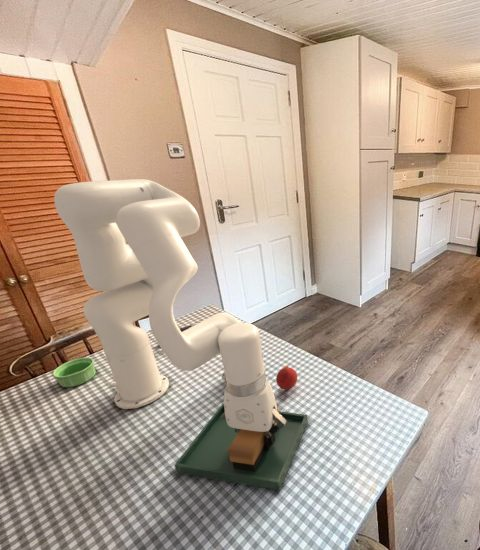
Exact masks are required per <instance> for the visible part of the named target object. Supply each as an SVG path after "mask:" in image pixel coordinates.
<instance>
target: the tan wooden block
mask: <svg viewBox="0 0 480 550" xmlns="http://www.w3.org/2000/svg"><path fill="white" fill-rule="evenodd" d="M276 405H277V412H278V413H279V411H280V409H279V404H276ZM273 421H274V420H273ZM274 423H275V421H274ZM264 437H265V434H264V432H258V431H250V430H243V429H240V431H239V433H238V434H237V436H236V437H235V439H234V440H233V442H232V444H231V445H230V447H229V448H228V453H229V458H230V461H231V462H233V466H234V468H235V469H241V470H247V471H254V472H255V470H256V468H257V466H258V464H259V462H260V460H261V459H262V457H263V455H264V453H265V451H266V449H265V442H264Z"/></svg>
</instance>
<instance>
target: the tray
mask: <svg viewBox="0 0 480 550" xmlns="http://www.w3.org/2000/svg"><path fill="white" fill-rule="evenodd" d="M224 412H225V409H224V403H222V404H221V405H220V406H219V407H218V408H217V410H216V411H215V413H214V414H213V415H212V416H211V418H210V419H209V420H208V421H207V423H206V424H205V426H204V427H203V428H202V430H200V432H199V433H198V434H197V436H195V438H194V440H193V441H192V442H191V443H190V445H189V446H188V447H187V448H186V450H185V451H184V452H183V454H182V455H181V456H180V457H179V459H178V460H177V462H176V463H175V464H174V469H175V472H176V474H180V475H185V476H191V477H197V478H203V479H208V480H209V479H210V480H215V481H221V482H225V483H226V482H227V483H232V484H233V483H234V484H238V485H244V486H250V487H257V488H263V489H267V490H268V489H269V490H272V491H273V490H274V491H281V489H282V486H283V484H284V481H285V479H286V477H287V474H288V472H289V469H290V467H291V464H292V462H293V460H294V457H295V455H296V452H297V449H298V447H299V444H300V442H301V440H302V437H303V435H304V432H305V430H306V428H307V426H308V425H307V424H308V423H309V420H308V414H305V413H304V414H303V413H302V414H301V413H296V412H288V411H280V410H279V414H280V415H281V416H282V417H284V418H285V419H286V421H287V422H286V424H285V426H284V427H282V428H281V429H278V431H277V432H275V442H274V444H273V445H271V447H270V449H269V451H267V450H266V451H265V453H264V455H263V457H262V459H261V460H260V462H259V464H258V466H257V468H256V470H255V472H254V471H247V470H241V469H235V468H234V466H233V462H231V461H230V458H229V453H228V448H229V447H230V445H231V444H232V442H233V440H234V439H235V437H236V436H237V434H238V433H236V432H235V429H234V428H232V427H230V426H228V424H227V422H226V421H225V420H224V419H223V418H222V417H221V416H222V415H223V414H224Z"/></svg>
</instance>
